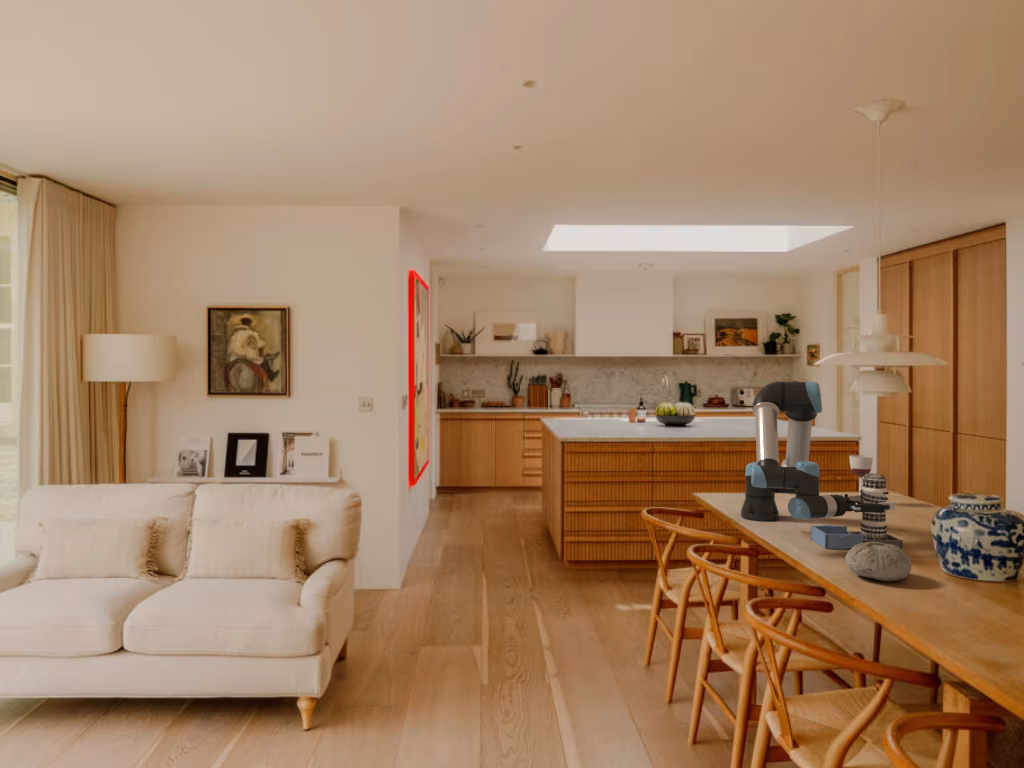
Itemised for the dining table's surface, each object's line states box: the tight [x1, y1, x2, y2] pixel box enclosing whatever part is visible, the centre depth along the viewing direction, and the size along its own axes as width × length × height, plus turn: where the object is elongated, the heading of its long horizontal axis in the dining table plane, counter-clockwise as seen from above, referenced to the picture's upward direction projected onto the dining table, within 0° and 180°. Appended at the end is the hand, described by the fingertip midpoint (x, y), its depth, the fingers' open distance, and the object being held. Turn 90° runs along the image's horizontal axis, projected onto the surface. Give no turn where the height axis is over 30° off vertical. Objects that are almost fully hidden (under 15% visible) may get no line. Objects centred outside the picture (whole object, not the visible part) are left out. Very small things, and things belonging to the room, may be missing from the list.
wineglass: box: [849, 454, 874, 504], centre depth 330 cm, size 9×10×22 cm
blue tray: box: [809, 524, 863, 550], centre depth 257 cm, size 13×18×5 cm
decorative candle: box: [859, 472, 890, 540], centre depth 257 cm, size 9×9×25 cm
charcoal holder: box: [847, 530, 904, 550], centre depth 257 cm, size 14×14×3 cm
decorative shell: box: [844, 541, 913, 582], centre depth 218 cm, size 18×18×10 cm
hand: (878, 502), depth 257 cm, fingers open, 13 cm apart
